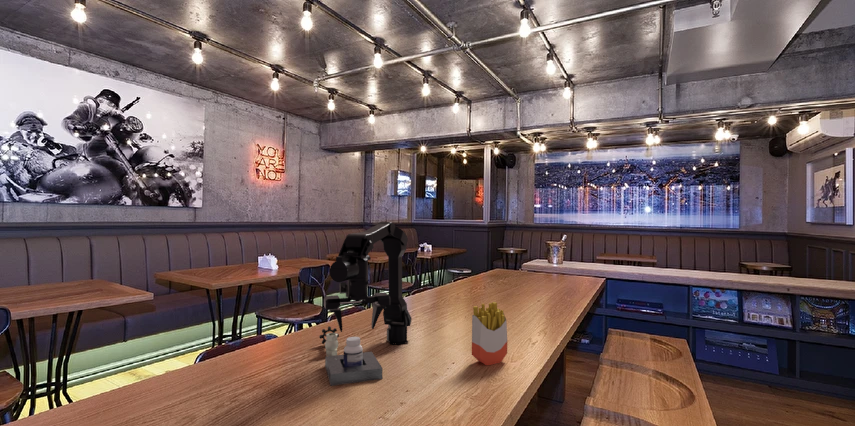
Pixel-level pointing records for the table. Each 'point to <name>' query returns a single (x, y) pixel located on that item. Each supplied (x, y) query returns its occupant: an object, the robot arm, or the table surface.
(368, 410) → the table surface
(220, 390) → the table surface
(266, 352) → the table surface
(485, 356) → the french fries container
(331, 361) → the holder
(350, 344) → the pill bottle
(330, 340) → the valve
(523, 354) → the table surface
